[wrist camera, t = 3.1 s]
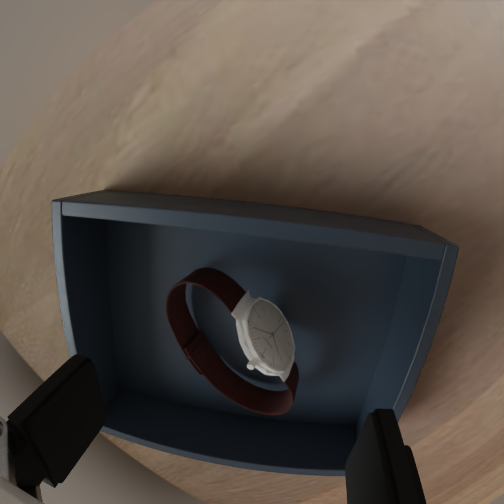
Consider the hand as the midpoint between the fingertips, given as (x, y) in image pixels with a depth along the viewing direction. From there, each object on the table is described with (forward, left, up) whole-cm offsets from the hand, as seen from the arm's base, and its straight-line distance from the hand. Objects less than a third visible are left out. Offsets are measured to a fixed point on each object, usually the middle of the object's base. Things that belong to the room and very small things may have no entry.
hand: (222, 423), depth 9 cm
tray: (0, 0, -6) cm, 6 cm away
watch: (0, 0, -6) cm, 6 cm away
